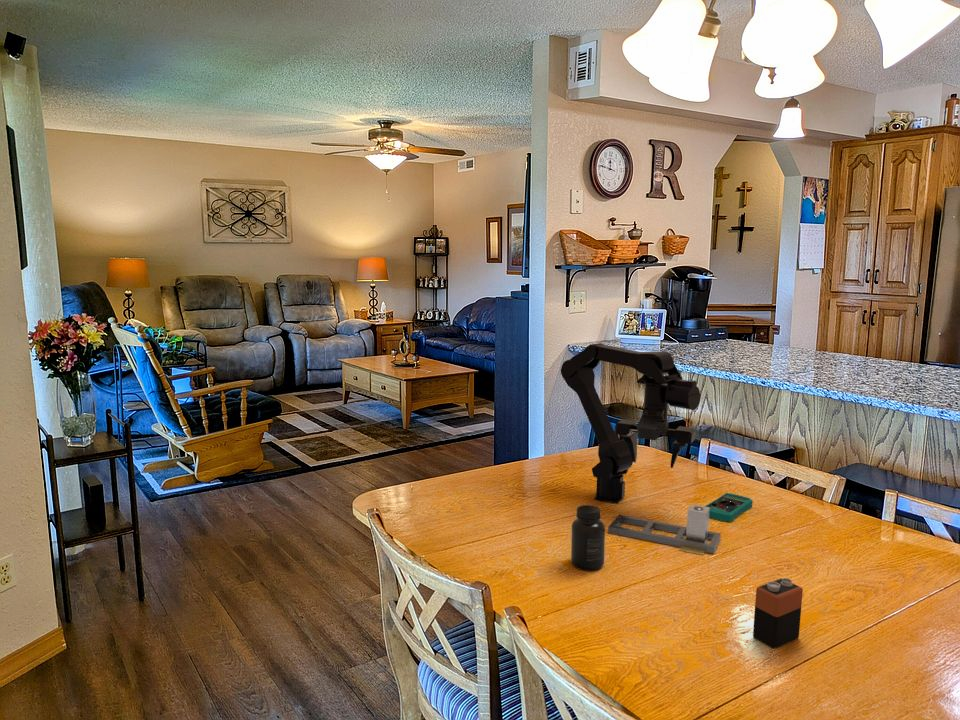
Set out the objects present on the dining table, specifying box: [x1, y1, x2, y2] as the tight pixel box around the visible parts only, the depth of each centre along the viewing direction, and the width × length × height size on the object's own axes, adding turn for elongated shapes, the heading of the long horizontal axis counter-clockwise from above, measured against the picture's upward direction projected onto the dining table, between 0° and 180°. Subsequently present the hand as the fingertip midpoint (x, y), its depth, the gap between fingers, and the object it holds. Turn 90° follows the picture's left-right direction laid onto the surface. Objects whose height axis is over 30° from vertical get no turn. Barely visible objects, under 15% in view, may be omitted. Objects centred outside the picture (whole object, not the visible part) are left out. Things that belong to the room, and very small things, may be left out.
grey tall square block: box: [685, 504, 710, 544], centre depth 151 cm, size 4×4×8 cm
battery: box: [752, 577, 804, 649], centre depth 114 cm, size 4×7×10 cm, turn 121°
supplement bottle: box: [570, 504, 606, 571], centre depth 140 cm, size 7×7×12 cm
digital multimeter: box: [703, 492, 754, 523], centre depth 171 cm, size 7×15×3 cm, turn 138°
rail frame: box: [607, 513, 722, 556], centre depth 155 cm, size 23×10×2 cm, turn 62°
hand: (653, 464), depth 169 cm, fingers open, 9 cm apart
